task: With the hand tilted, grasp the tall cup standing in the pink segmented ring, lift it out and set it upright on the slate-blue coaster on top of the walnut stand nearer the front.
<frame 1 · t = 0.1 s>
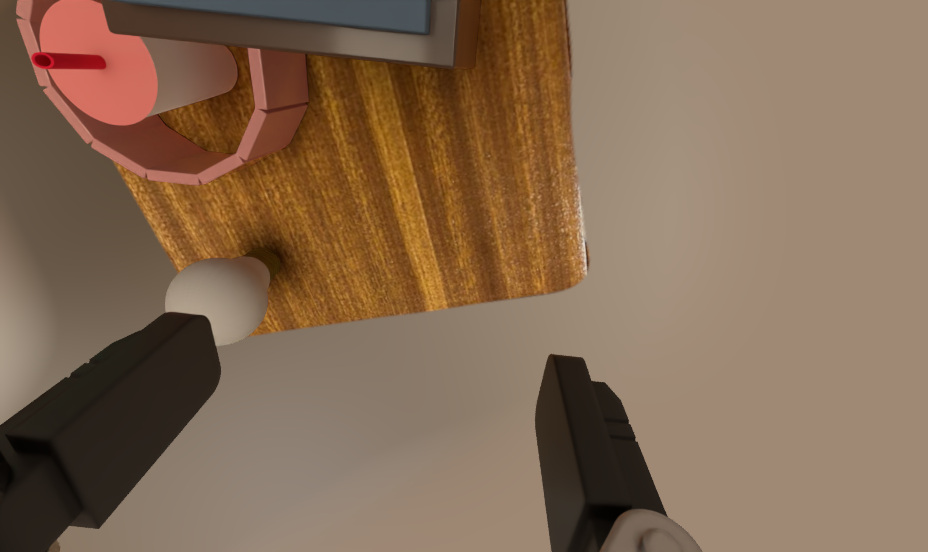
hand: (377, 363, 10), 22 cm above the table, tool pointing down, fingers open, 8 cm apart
pink segmented ring: (212, 66, 27), on the table
light bulb: (270, 257, 34), on the table
cup: (214, 66, 27), resting in pink segmented ring
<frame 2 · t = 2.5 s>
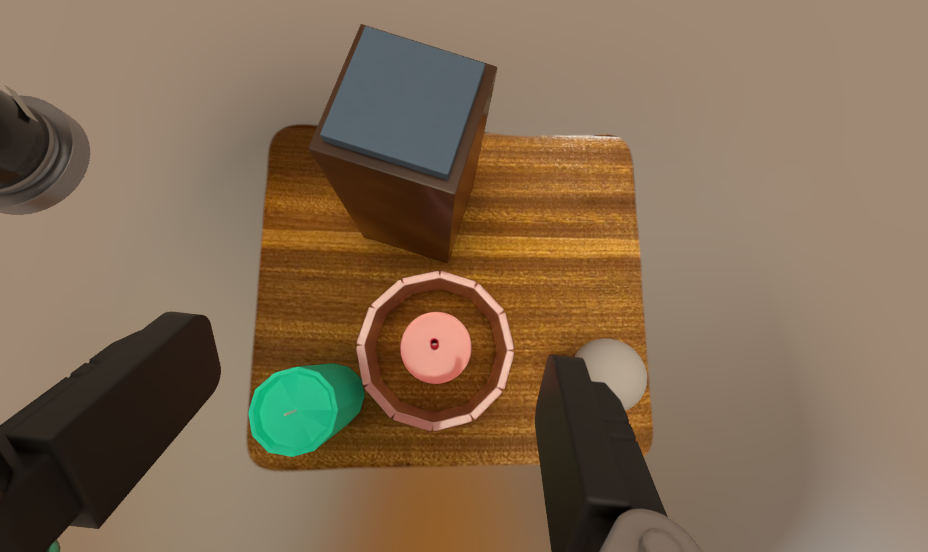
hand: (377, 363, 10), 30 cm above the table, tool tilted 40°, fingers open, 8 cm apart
coaster: (406, 105, 24), resting on stand
stand: (419, 210, 42), on the table
pink segmented ring: (436, 348, 39), on the table
candle: (332, 395, 38), on the table
light bulb: (577, 371, 40), on the table
cup: (436, 348, 40), resting in pink segmented ring
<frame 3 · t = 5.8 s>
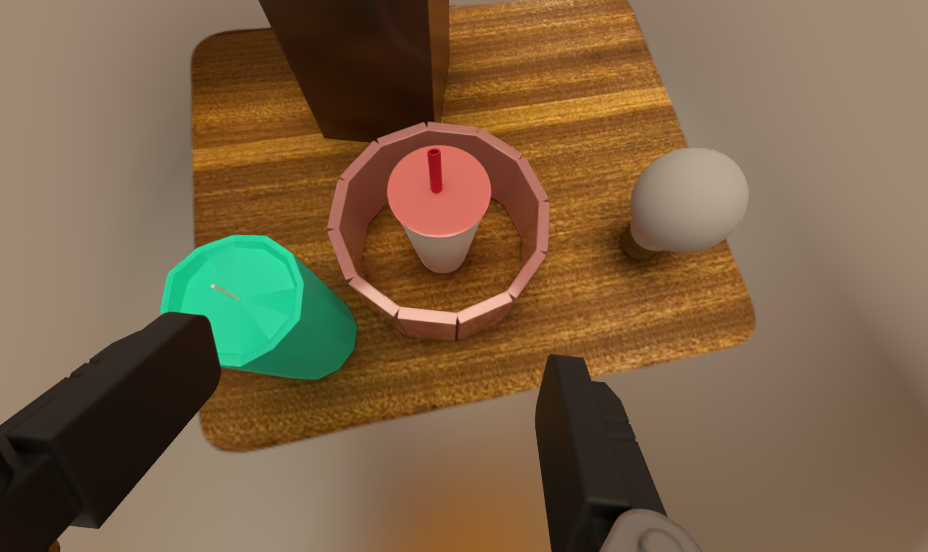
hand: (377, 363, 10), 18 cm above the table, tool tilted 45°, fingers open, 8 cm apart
stand: (389, 97, 33), on the table
pink segmented ring: (442, 251, 29), on the table
candle: (313, 335, 28), on the table
light bulb: (632, 247, 30), on the table
cup: (442, 252, 30), resting in pink segmented ring
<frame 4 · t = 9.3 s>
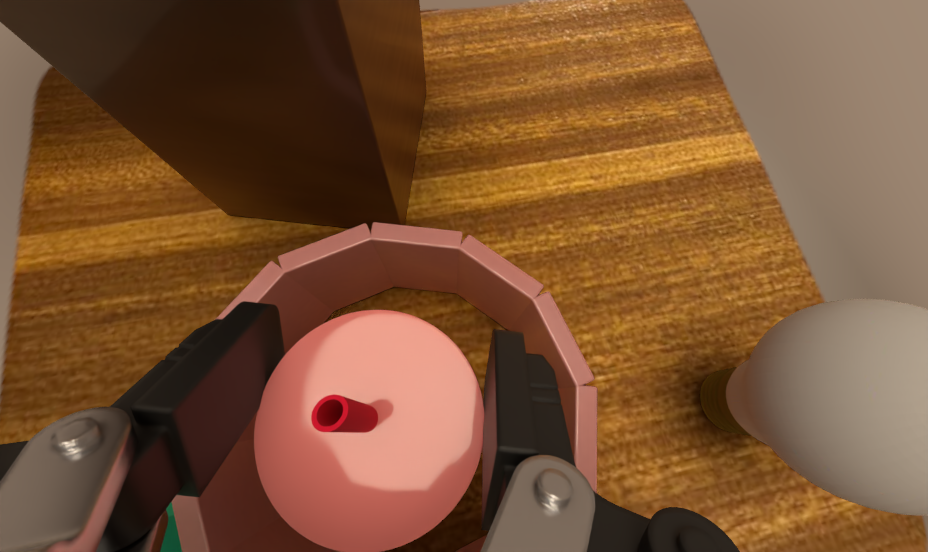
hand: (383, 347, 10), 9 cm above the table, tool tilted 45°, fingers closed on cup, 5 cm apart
stand: (333, 149, 22), on the table
pink segmented ring: (408, 413, 18), on the table
light bulb: (715, 401, 19), on the table
cup: (408, 413, 18), resting in pink segmented ring, touching gripper
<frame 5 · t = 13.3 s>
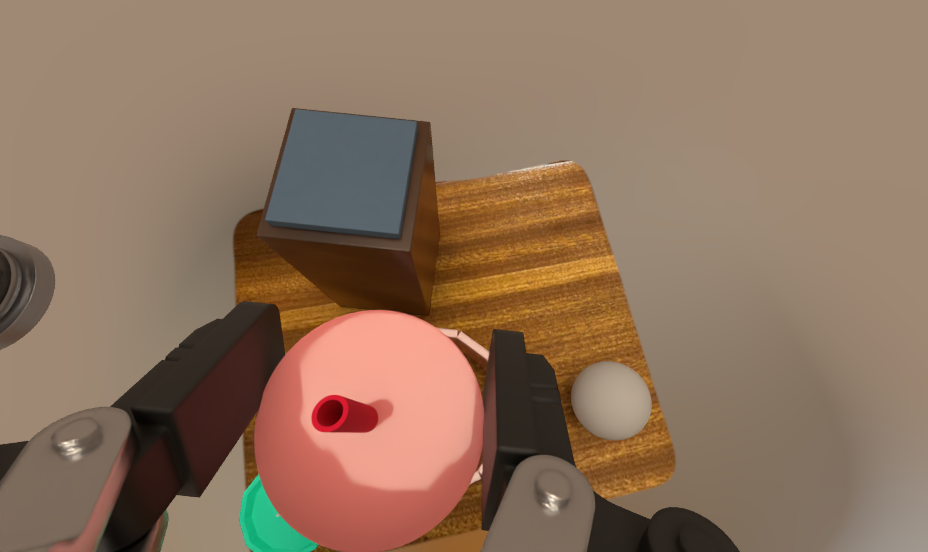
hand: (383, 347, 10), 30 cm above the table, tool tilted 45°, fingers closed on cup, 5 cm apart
coaster: (347, 175, 25), resting on stand
stand: (391, 268, 42), on the table
pink segmented ring: (433, 406, 38), on the table
candle: (334, 479, 36), on the table
light bulb: (582, 400, 39), on the table
cup: (408, 413, 18), point 21 cm above the table, touching gripper
when the fingers open (28 cm above the table, at t = 17.4 s): cup stays where it is, resting on coaster.
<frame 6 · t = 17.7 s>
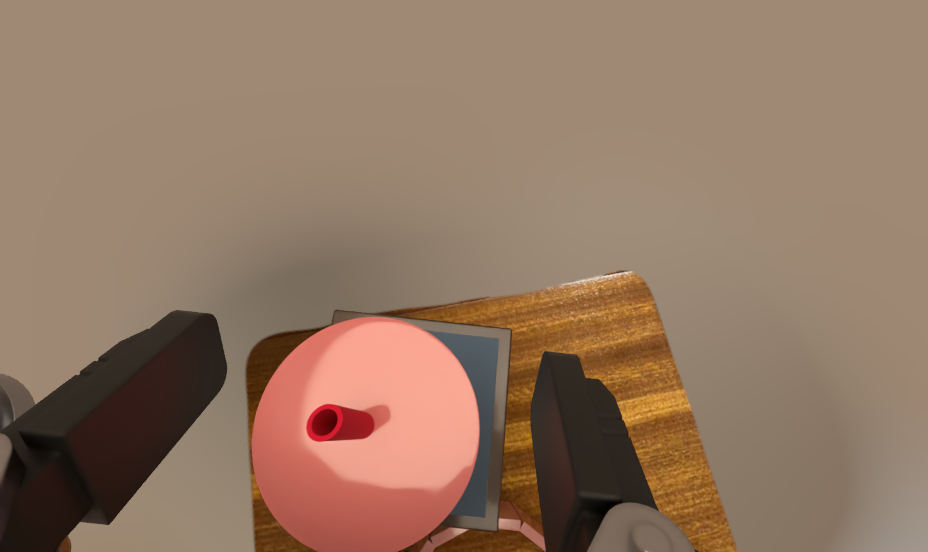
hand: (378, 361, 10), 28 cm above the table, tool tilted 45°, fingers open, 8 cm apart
coaster: (410, 413, 19), resting on stand
stand: (429, 408, 36), on the table
cup: (407, 416, 18), point 19 cm above the table, touching coaster
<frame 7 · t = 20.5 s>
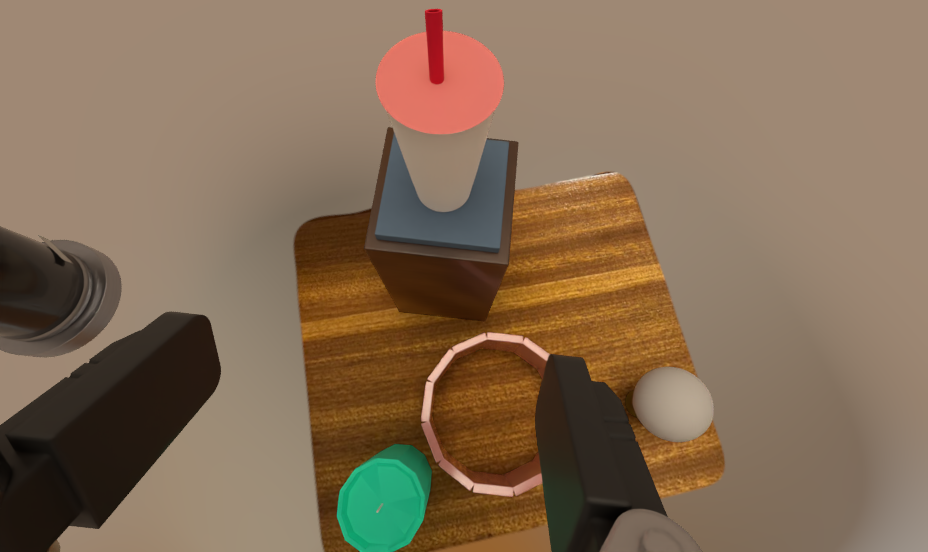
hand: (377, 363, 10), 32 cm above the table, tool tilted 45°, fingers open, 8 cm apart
coaster: (445, 192, 26), resting on stand
stand: (447, 275, 43), on the table
pink segmented ring: (492, 408, 40), on the table
candle: (400, 477, 38), on the table
light bulb: (633, 403, 40), on the table
cup: (443, 189, 26), point 19 cm above the table, touching coaster
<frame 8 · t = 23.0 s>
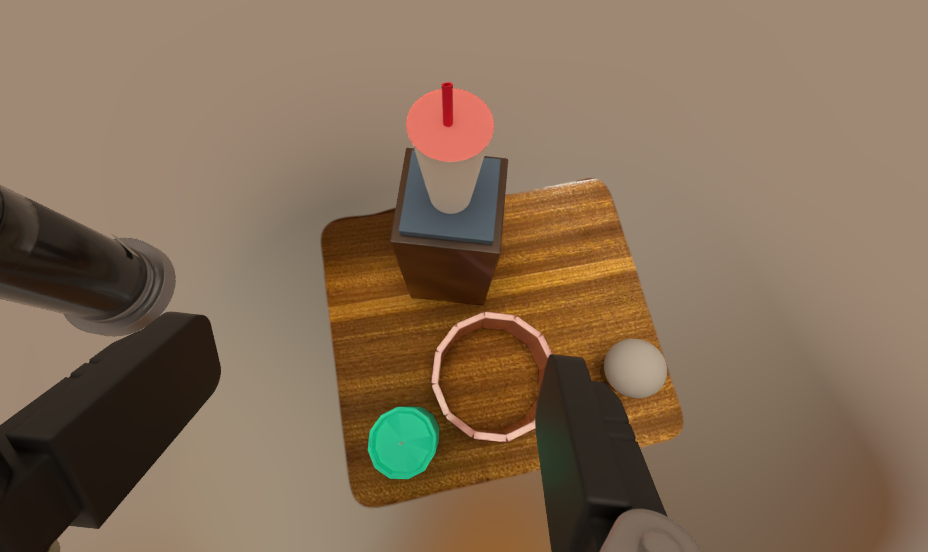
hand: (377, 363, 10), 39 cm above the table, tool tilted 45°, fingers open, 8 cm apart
coaster: (451, 198, 34), resting on stand
stand: (451, 267, 51), on the table
pink segmented ring: (489, 377, 47), on the table
candle: (413, 433, 45), on the table
light bulb: (608, 373, 48), on the table
cup: (450, 196, 33), point 19 cm above the table, touching coaster
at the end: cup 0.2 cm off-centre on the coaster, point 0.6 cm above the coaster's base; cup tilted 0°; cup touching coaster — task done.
